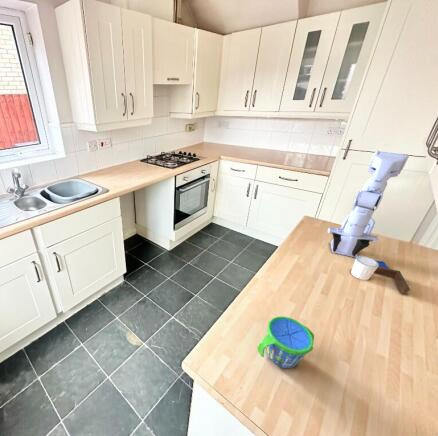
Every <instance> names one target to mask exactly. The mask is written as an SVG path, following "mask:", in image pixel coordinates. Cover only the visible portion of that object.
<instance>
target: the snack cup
mask: <svg viewBox="0 0 438 436" xmlns="http://www.w3.org/2000/svg"><path fill="white" fill-rule="evenodd" d="M266 331H267V334H266V335H265V336H264V337H263V338H262V340H261V341H260V343H258V344H257V347H256V349H257V352H258V354H259V355H260V356H261V357H262V358H265V349H266V352H267V355H268V358H269V359H270V360H271V361H272V362H273V363H274V364H275V365H277V366H279V367H280V368H283V369H291V368H294V367H295V366H296V365H297V364H298V363H299V362H300V361H301V360H302V359H303V358H304V357H305V356H306V355H307V354H309V353H310V352H311V351H313V349H314V340H315V334H314V333H313V331H312V330H311V329H310V328H309V327H307V326H305V325H304V324H302V323H301V322H300V321H298V320H296V319H294V318H291V317H288V316H284V315H280V316H279V315H278V316H274V317H272V318H271V319H269V321H268V324H267V329H266Z"/></svg>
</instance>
